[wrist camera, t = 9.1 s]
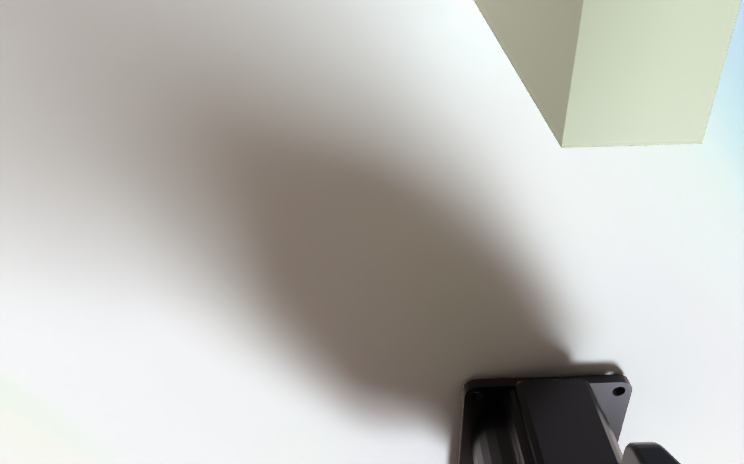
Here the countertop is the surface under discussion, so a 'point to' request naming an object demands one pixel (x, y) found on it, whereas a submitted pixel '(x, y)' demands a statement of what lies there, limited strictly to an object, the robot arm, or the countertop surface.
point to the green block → (617, 65)
